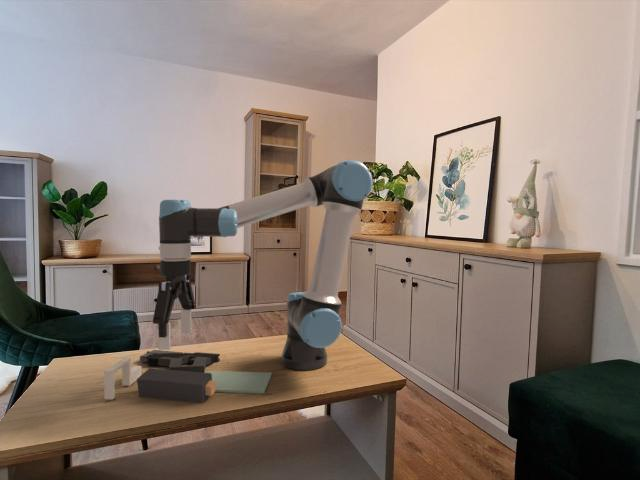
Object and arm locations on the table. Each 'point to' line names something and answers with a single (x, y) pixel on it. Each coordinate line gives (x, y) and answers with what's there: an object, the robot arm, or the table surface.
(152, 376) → the dark grey rectangular bar
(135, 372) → the white arch
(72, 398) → the table surface
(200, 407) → the table surface
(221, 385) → the mat
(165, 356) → the pistol
